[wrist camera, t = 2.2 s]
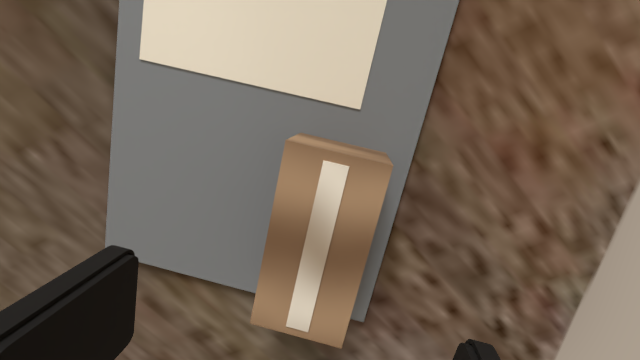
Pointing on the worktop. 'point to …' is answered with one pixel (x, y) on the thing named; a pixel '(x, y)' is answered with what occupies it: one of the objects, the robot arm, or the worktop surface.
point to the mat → (256, 117)
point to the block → (319, 237)
